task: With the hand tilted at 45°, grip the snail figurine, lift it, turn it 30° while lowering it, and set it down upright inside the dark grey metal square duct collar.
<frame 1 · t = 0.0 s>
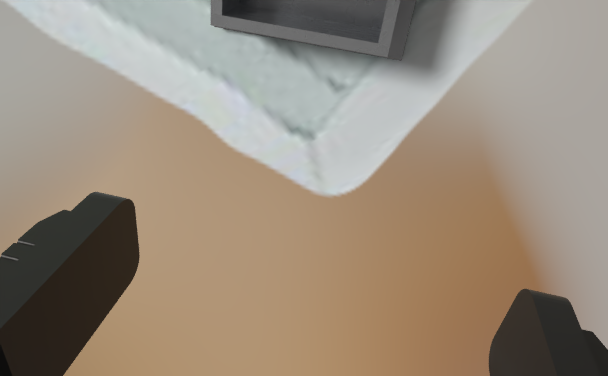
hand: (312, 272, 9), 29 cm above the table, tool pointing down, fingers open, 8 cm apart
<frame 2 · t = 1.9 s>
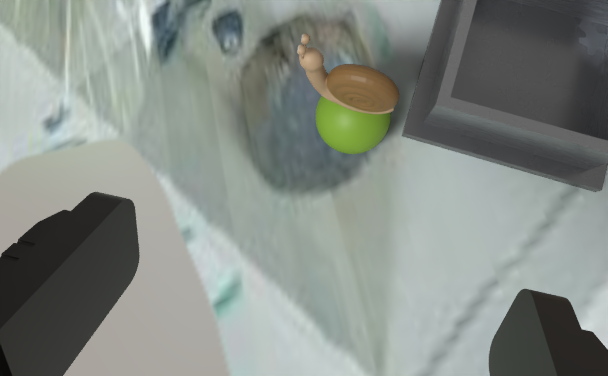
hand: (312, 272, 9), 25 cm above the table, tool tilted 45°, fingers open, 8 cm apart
snail figurine: (344, 126, 36), on the table
duct collar: (519, 74, 36), on the table
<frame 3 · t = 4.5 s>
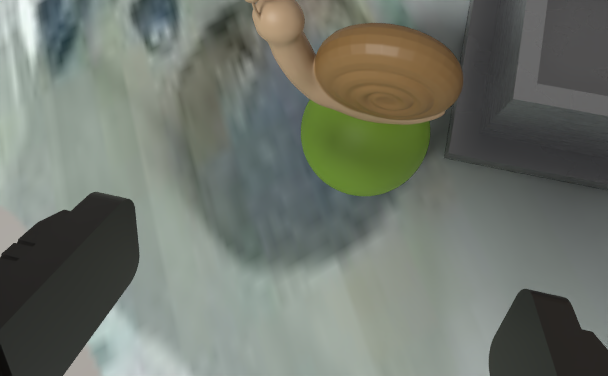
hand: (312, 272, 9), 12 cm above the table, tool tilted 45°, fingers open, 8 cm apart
snail figurine: (349, 150, 22), on the table
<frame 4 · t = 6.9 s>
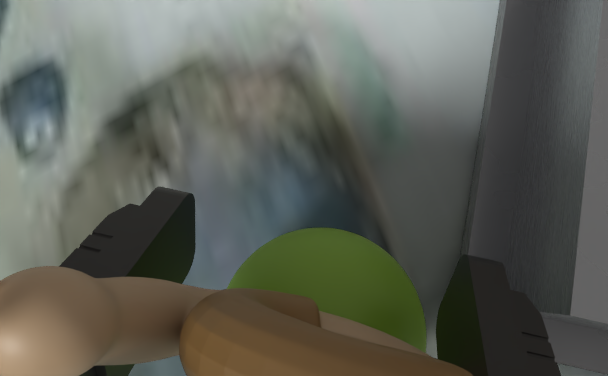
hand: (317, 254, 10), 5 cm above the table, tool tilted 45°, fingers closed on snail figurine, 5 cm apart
snail figurine: (307, 318, 15), on the table, touching gripper
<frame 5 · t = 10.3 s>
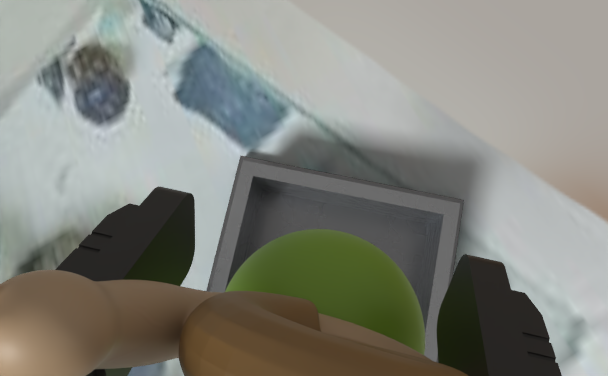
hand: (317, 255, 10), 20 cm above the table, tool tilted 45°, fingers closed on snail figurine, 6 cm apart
snail figurine: (305, 319, 15), point 15 cm above the table, touching gripper
duct collar: (326, 290, 29), on the table
when the fingers open (8 cm above the table, at t = 14.0 s): snail figurine drops 1 cm, resting on duct collar.
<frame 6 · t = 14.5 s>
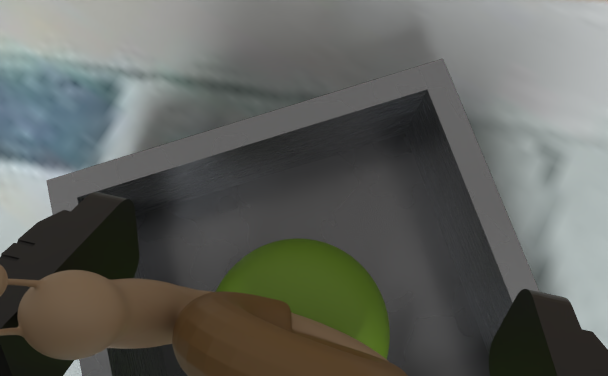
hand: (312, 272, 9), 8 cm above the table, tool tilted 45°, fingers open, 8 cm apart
snail figurine: (289, 317, 17), point 1 cm above the table, touching duct collar, gripper
duct collar: (312, 315, 17), on the table
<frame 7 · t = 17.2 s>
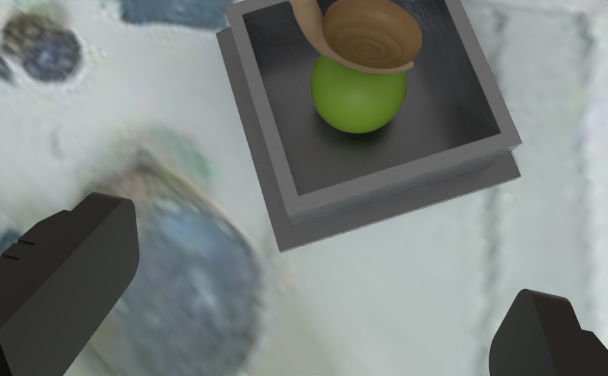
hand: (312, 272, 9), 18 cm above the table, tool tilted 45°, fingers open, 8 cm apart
snail figurine: (347, 103, 29), point 1 cm above the table, touching duct collar
duct collar: (359, 105, 29), on the table
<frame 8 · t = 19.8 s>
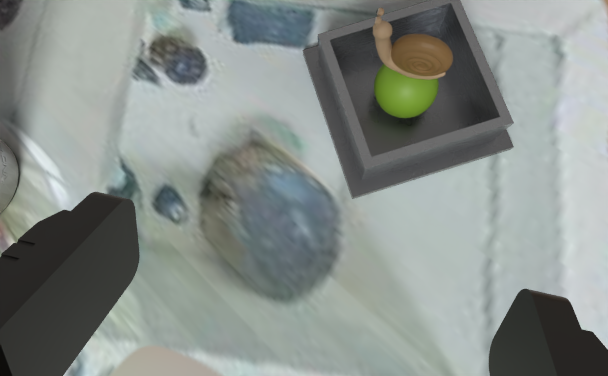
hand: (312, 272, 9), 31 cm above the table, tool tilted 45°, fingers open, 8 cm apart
snail figurine: (395, 98, 42), point 1 cm above the table, touching duct collar
duct collar: (403, 100, 43), on the table
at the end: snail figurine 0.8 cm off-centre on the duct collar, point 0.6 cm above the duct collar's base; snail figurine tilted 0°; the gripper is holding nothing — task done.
